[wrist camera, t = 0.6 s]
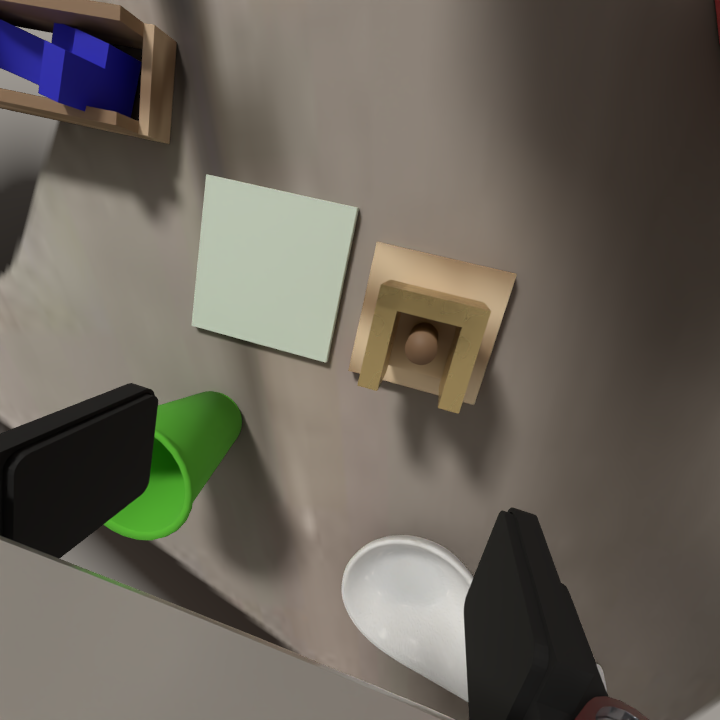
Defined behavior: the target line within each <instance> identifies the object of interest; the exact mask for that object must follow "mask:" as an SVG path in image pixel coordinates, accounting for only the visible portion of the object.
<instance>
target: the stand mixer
mask: <svg viewBox="0 0 720 720" xmlns="http://www.w3.org/2000/svg"><path fill="white" fill-rule="evenodd" d="M715 5H716V15H717V24H718V34H719V43H720V0H715Z"/></svg>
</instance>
